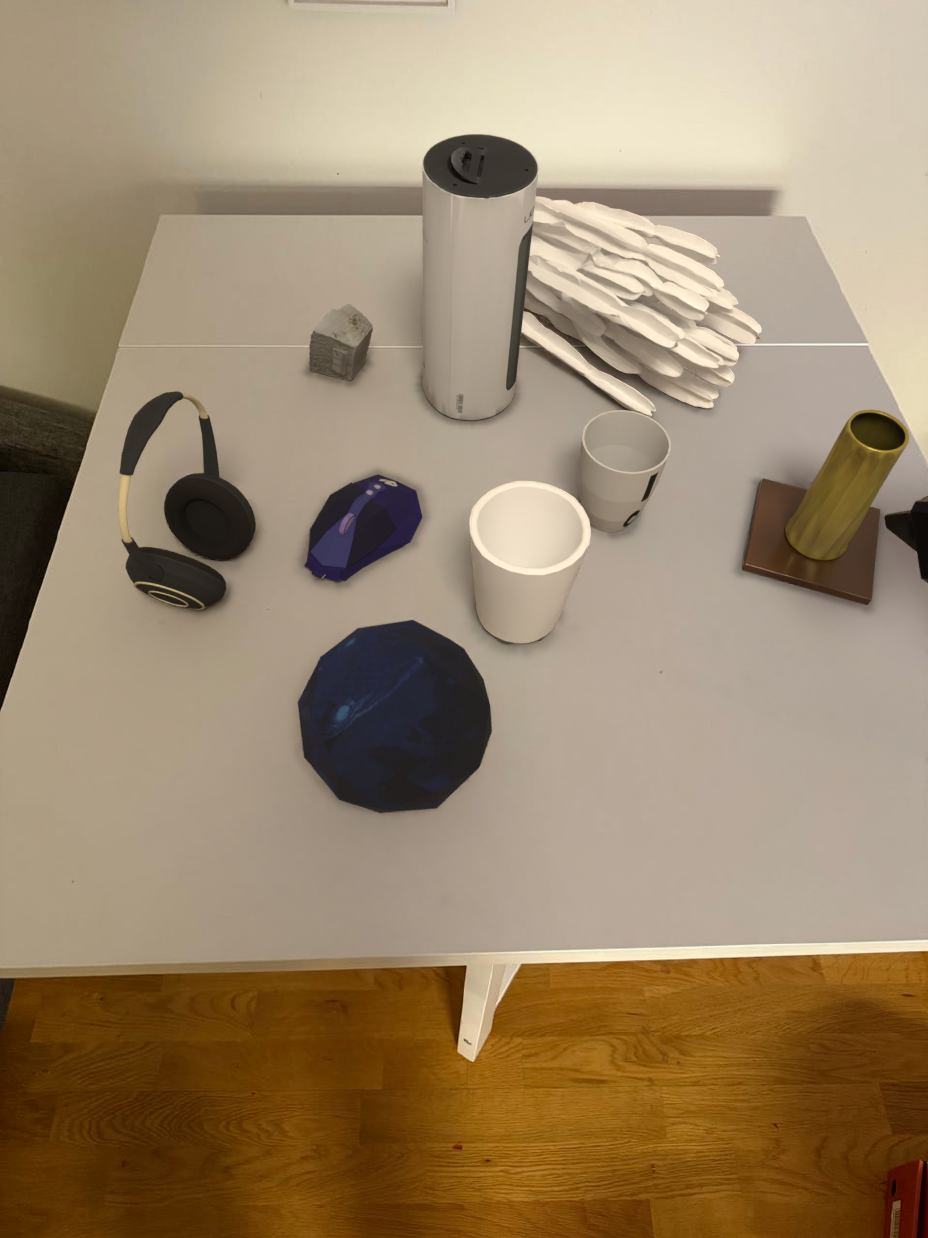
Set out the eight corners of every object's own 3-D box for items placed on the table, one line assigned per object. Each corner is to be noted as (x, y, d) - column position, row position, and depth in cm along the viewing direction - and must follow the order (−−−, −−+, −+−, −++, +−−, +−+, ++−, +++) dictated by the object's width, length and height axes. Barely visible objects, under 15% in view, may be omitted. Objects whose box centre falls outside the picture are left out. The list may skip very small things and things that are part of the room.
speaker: (498, 433, 93) (519, 201, 71) (407, 409, 95) (401, 175, 73) (526, 371, 99) (553, 139, 77) (440, 349, 100) (443, 116, 78)
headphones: (125, 627, 78) (42, 472, 61) (194, 507, 86) (138, 341, 69) (214, 649, 77) (154, 498, 60) (276, 526, 85) (238, 362, 68)
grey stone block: (295, 386, 95) (290, 316, 89) (330, 353, 101) (328, 285, 95) (356, 402, 93) (355, 331, 88) (388, 367, 100) (389, 299, 94)
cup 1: (581, 652, 78) (605, 566, 67) (473, 666, 77) (480, 581, 66) (556, 565, 83) (575, 473, 73) (456, 577, 82) (459, 485, 72)
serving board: (876, 515, 88) (880, 508, 87) (867, 605, 82) (872, 599, 81) (759, 484, 90) (762, 477, 89) (741, 570, 84) (744, 564, 83)
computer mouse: (441, 500, 87) (442, 472, 84) (363, 605, 80) (360, 579, 77) (363, 466, 90) (360, 438, 86) (280, 565, 82) (273, 539, 79)
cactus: (410, 250, 95) (674, 403, 82) (507, 109, 93) (791, 241, 80) (464, 323, 110) (692, 461, 97) (547, 203, 109) (790, 326, 96)
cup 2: (637, 554, 84) (659, 483, 76) (557, 530, 86) (571, 458, 77) (656, 496, 89) (679, 423, 80) (580, 474, 90) (595, 400, 82)
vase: (779, 549, 84) (836, 443, 72) (790, 505, 87) (847, 397, 75) (842, 569, 83) (911, 464, 71) (851, 524, 86) (919, 417, 74)
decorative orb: (247, 810, 63) (361, 747, 53) (282, 637, 71) (385, 554, 61) (405, 858, 70) (531, 810, 60) (420, 696, 79) (533, 630, 69)
